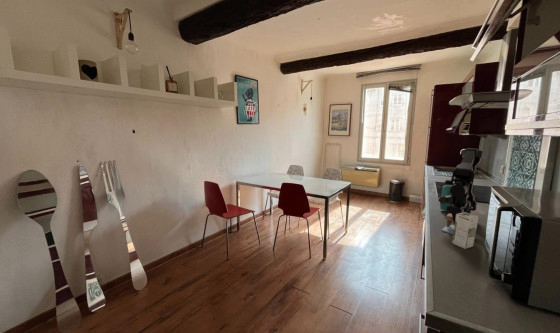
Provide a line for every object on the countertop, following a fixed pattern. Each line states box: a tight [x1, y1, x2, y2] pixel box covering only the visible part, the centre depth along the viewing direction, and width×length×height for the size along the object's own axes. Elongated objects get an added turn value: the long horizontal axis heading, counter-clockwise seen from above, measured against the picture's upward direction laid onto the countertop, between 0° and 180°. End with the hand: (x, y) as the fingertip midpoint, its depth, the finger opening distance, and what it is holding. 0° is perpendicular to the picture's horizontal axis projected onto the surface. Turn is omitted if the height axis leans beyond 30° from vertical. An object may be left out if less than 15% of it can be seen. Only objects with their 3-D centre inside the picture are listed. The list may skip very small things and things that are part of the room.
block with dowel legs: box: [445, 212, 453, 227], centre depth 117 cm, size 8×5×6 cm, turn 40°
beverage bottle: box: [439, 179, 454, 212], centre depth 142 cm, size 6×7×20 cm
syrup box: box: [451, 212, 479, 250], centre depth 102 cm, size 6×6×14 cm
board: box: [441, 224, 455, 235], centre depth 117 cm, size 11×9×1 cm
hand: (456, 222), depth 117 cm, fingers closed on block with dowel legs, 5 cm apart
